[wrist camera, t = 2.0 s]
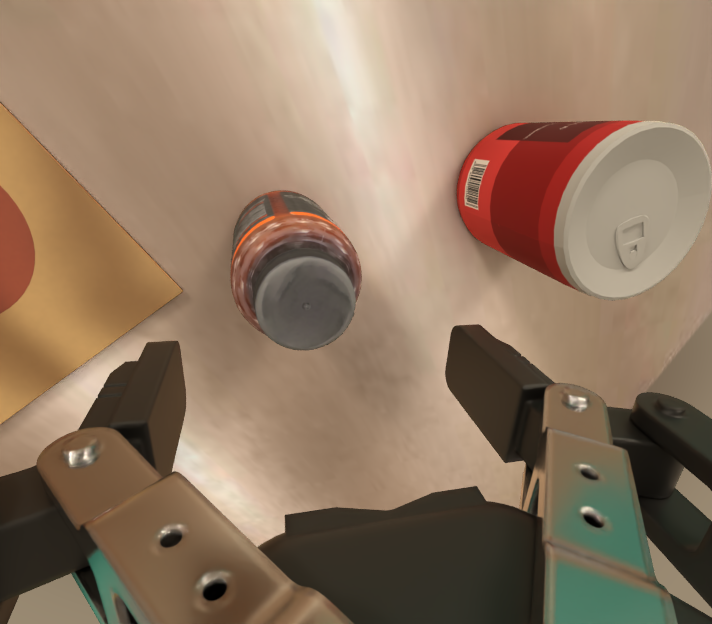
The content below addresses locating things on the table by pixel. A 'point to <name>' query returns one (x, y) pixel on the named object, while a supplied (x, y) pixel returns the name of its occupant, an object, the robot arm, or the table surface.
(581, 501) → the robot arm
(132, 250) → the placemat
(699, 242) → the table surface
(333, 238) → the supplement bottle
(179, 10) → the table surface
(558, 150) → the canned food
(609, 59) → the table surface
